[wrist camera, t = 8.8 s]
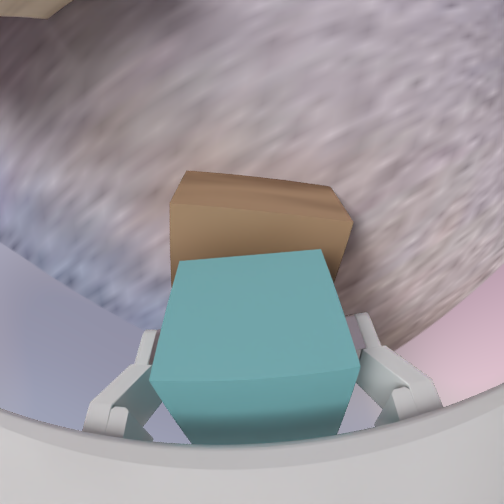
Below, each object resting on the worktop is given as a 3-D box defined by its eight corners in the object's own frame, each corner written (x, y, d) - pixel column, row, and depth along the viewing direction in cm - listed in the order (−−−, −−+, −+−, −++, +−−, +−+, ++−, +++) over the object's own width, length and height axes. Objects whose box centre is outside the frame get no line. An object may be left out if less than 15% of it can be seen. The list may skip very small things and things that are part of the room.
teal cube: (179, 261, 11) (149, 380, 7) (321, 249, 11) (360, 366, 6) (205, 349, 14) (196, 450, 9) (314, 341, 13) (333, 441, 9)
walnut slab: (187, 169, 14) (169, 203, 11) (328, 184, 15) (353, 222, 12) (185, 282, 18) (174, 333, 15) (300, 292, 19) (311, 342, 15)
